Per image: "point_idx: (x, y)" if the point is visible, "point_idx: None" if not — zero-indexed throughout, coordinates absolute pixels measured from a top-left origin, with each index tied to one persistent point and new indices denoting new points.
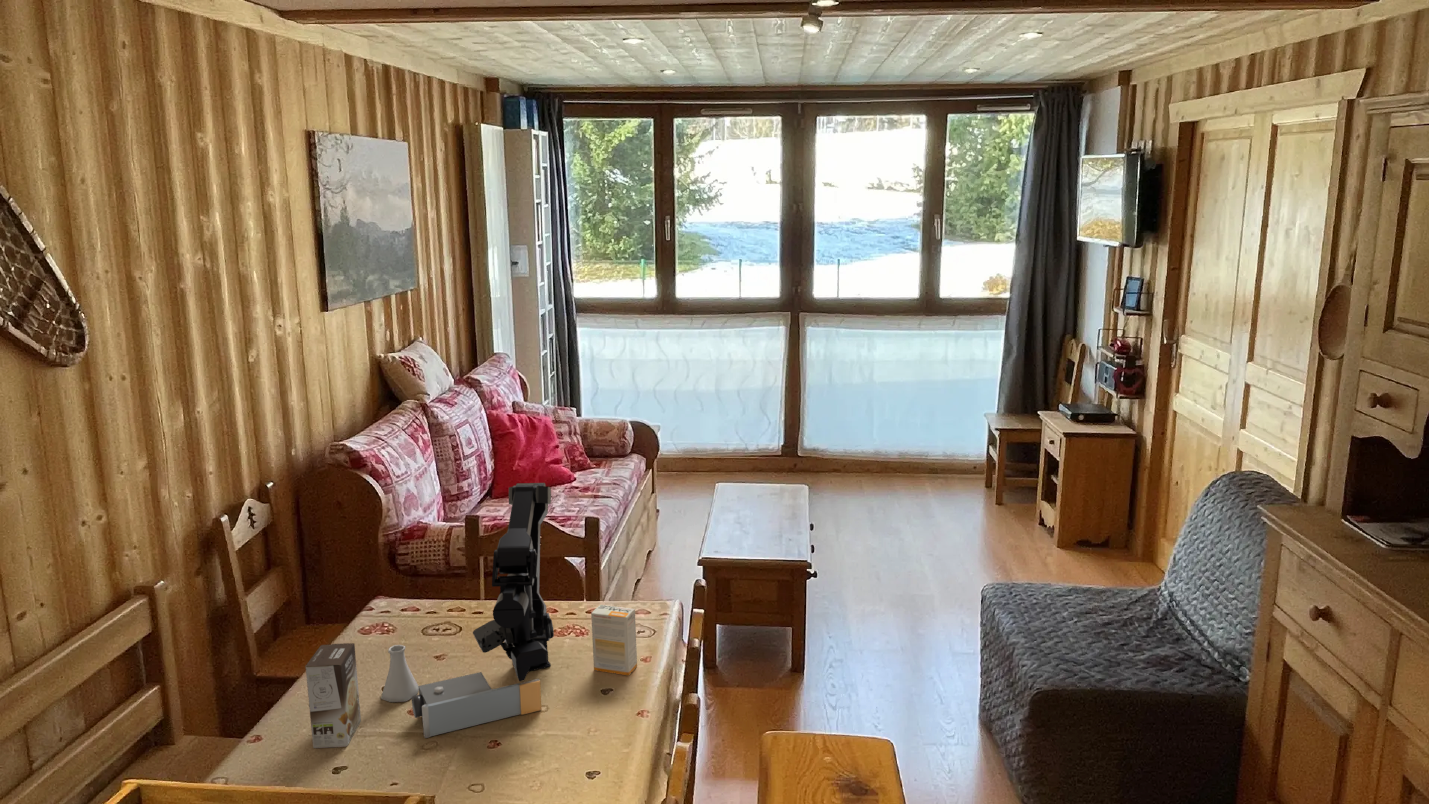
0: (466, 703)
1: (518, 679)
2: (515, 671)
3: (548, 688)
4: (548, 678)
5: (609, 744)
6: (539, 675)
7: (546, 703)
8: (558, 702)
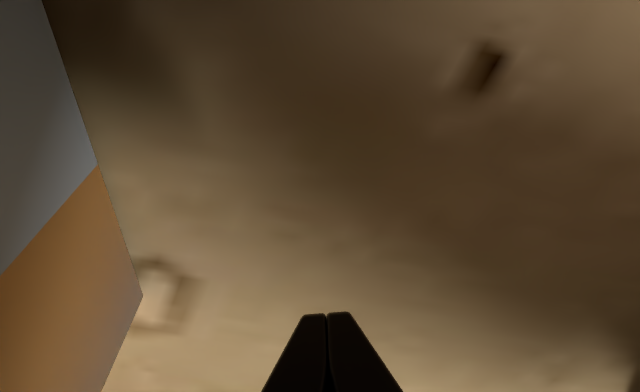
0: None
1: (304, 325)
2: (380, 371)
3: (390, 368)
4: (514, 387)
5: None
6: (587, 355)
7: (200, 331)
8: (191, 383)
